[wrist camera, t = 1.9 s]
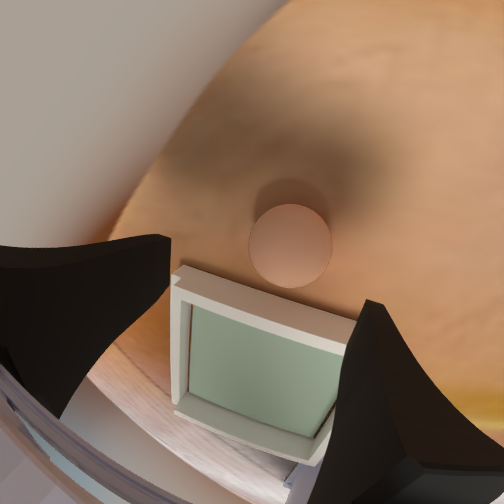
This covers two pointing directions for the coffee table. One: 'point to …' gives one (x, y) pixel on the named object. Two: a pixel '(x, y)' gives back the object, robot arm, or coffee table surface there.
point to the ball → (290, 245)
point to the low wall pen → (262, 317)
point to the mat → (261, 373)
